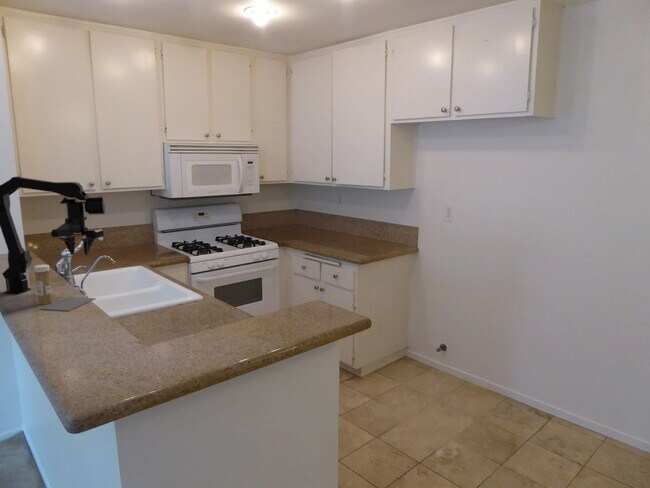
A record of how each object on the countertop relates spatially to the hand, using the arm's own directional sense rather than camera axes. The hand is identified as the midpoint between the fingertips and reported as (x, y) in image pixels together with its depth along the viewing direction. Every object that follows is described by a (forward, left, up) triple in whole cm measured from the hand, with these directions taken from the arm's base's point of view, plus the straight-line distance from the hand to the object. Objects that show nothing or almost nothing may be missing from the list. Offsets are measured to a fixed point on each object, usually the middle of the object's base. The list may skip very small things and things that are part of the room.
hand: (79, 254), depth 181 cm
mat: (+10, -21, -13) cm, 27 cm away
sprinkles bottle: (+1, -21, -13) cm, 25 cm away
